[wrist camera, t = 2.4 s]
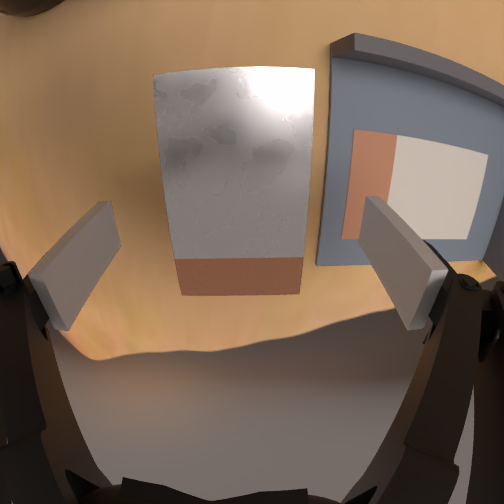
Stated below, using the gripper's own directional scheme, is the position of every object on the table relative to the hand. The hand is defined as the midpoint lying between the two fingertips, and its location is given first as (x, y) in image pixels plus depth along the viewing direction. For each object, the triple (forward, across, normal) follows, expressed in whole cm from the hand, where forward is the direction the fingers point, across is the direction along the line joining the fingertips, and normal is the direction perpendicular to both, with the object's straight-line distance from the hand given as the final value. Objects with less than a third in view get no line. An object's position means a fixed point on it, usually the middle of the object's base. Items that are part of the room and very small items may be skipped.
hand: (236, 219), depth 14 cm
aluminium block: (+10, 0, +1) cm, 10 cm away
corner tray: (+10, +19, +1) cm, 21 cm away
